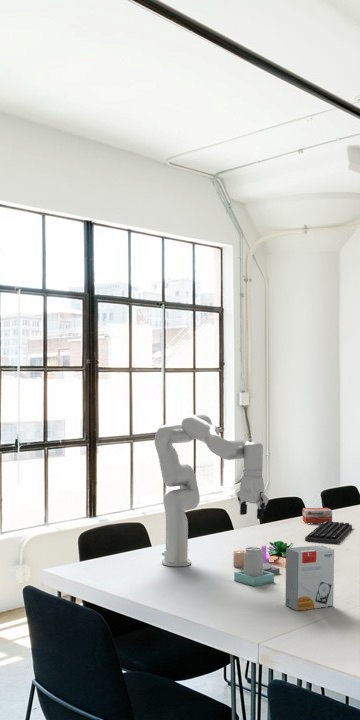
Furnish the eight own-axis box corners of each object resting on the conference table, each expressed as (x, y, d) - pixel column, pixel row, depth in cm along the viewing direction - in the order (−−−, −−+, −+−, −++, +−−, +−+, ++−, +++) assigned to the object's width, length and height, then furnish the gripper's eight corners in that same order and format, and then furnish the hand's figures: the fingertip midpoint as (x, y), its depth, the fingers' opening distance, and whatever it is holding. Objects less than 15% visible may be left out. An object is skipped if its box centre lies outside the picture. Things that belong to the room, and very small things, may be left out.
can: (241, 580, 281) (241, 549, 282) (247, 575, 288) (247, 545, 289) (259, 582, 278) (259, 551, 279) (265, 577, 285) (265, 547, 286)
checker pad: (245, 567, 297) (245, 564, 297) (260, 564, 303) (260, 561, 303) (260, 571, 290) (260, 568, 290) (276, 568, 296) (276, 565, 296)
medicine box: (306, 524, 406) (306, 510, 407) (302, 521, 414) (302, 507, 415) (332, 524, 408) (332, 510, 408) (327, 521, 416) (327, 507, 416)
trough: (234, 580, 284) (234, 572, 284) (254, 576, 291) (254, 568, 291) (254, 586, 275) (254, 578, 275) (274, 582, 282) (274, 573, 282)
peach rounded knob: (230, 565, 308) (230, 551, 308) (240, 563, 311) (240, 549, 312) (240, 568, 303) (240, 554, 303) (250, 566, 307) (250, 552, 307)
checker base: (241, 572, 297) (241, 565, 297) (260, 568, 304) (260, 561, 304) (261, 577, 288) (261, 570, 289) (280, 573, 295) (280, 566, 295)
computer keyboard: (323, 527, 401) (323, 520, 401) (351, 529, 395) (351, 522, 395) (305, 542, 359) (305, 534, 359) (337, 545, 353) (337, 537, 353)
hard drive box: (296, 611, 244) (296, 552, 245) (284, 605, 251) (284, 547, 252) (334, 606, 251) (334, 548, 251) (321, 600, 258) (321, 544, 258)
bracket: (273, 563, 314) (273, 546, 314) (261, 561, 316) (261, 545, 316) (280, 556, 326) (280, 541, 327) (267, 555, 328) (268, 540, 329)
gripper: (231, 471, 292) (230, 513, 291) (261, 476, 278) (260, 521, 278) (244, 470, 296) (243, 512, 296) (275, 475, 283) (273, 519, 282)
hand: (251, 516), depth 287 cm, fingers open, 9 cm apart
